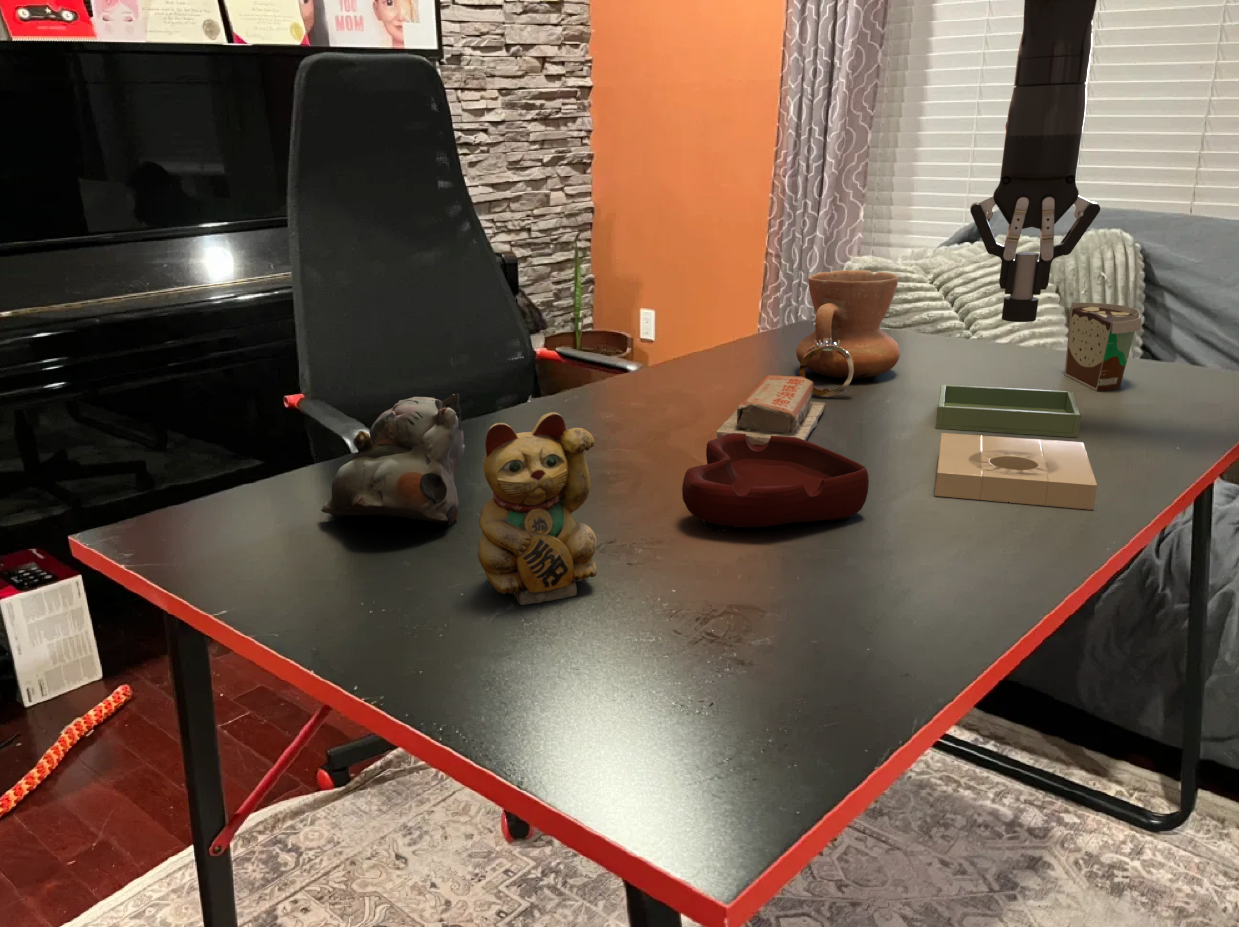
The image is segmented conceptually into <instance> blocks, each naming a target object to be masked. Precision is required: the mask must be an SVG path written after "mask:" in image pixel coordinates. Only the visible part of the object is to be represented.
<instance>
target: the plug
mask: <svg viewBox="0 0 1239 927" xmlns="http://www.w3.org/2000/svg"><path fill="white" fill-rule="evenodd" d="M1039 255H1040V253H1038V252H1032V251H1025V252H1024V251H1021V252H1016V253H1015V257H1014V259H1015V261H1016V264H1015V271H1014V279H1013V287H1012V294H1009V296H1005V297H1004V298H1003V305H1002V311H1001V312H1002V313H1001V320H1003V321H1005V322H1012V323H1032V322H1035V321H1036V320H1037V313H1038V308H1039V300H1040V299H1039V298H1038V297H1036V296H1034V295H1033V292H1034V285H1035V277H1036V270H1037V262H1038V259H1039Z"/></svg>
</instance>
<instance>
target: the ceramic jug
mask: <svg viewBox="0 0 1239 927" xmlns="http://www.w3.org/2000/svg"><path fill="white" fill-rule="evenodd" d="M807 280H808V290H809V295H810V299H811V302H812V305H813V309H814V311H815V320H814V321H815V322H814V324H815V326H814V331H813V332H812V333H810V334H809V335H807V336H805V338H804V339H802V340H801V341H800V342H799V343H798V345H797V348H796V351H795V352H796V353H795V355H796V358H797V361H798V362H799V365H800V364H801V361H802V359H803V357H804V355H805V354H806V352H807V351H808V350H809V349H810V348H811V347H812V346H814V345H815V343H814V341H815V340H817V344H818V343H819V340H821V342H823V338H829V337H831V338H832V339H831V340H832V342H836V343H837V340H840V342H839V345H838V346H840V347H842V348H844V349H845V350H846V351H847V352H849V354H850V355H851V356H852V358H853V361H854V365H855V371H854V376H853V378H852V379H865V378H866V379H867V378H872V377H876V376H880V375H882V374H885V373H887V372H889V371H890V370H891V369H893V368H894V367H895V366H896V365H897V363H898V362H899V359H900V356H901V350H900V349H901V348H900V346H899V344H898V343H897V342H896V340H895V339H893V337H891V336H890V335H888V334H887V333H886V332H885V331H884V330H882V329H881V324H882V322H883V321H884V319H885V317H886V315H887V313H888V311H889V309H890V306H891V305H892V302H893V300H894V298H895V294H896V291H897V289H898V288H897V287H898V284H899V275H897V274H895V273H891V272H888V271H876V272H875V273H874V272H872V271H871V270H866V269H862V270H861V269H845V270H844V269H843V270H833V271H823V272H818V273H814V274H812V275H810V276H808V278H807ZM805 369H807V370H809V371H811V372H813V373H816V374H818V375H821V376H825V377H830V378H837V379H847V377H848V373H849V367H848V363H847V361H846V359H845V358H844V357H843V356H842V355H841V354H839V353H838V352H836V351H835V350H832V351H823V350H822V352H821V353H819V354H817V355H815V356H813V357H812V358H811V359H810V360H809V361H808V362H807V364H806V368H805Z"/></svg>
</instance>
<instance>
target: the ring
mask: <svg viewBox="0 0 1239 927" xmlns="http://www.w3.org/2000/svg"><path fill="white" fill-rule="evenodd" d="M831 339H832V338H831V337H829V338H823V342H821V340H819V343H818V344H817V340H815V341H814V343H815V345H814V346H812V347H811V348H810V349H809V350H808V351H807V352H806V354H805V355H804V357H803V359H802V361H801V364H800V363H799V371H798V372H799V376H801V377H804V378H806V379H808V377H807V374H806V369H807V368H806V364H807V362H808V361H809V360H810V359H811V358H812V357H813V356H815V355H817V354H819V353H821V352H822V350H823V351H832V350H835V351H836V352H838V353H839V354H841V355H842V356H843V357H844V358H845V359H846V361H847V363H848V367H849V373H848V377H847V378H846V379H845V381H844V383H843V384H842V385H841V386H839V387H838V388H835V389H832V390H830V389H829V388H823V389H819V388H817V387H815V386H814V385H813V392H812V394H814V395H816V396H819V397H821V398H822V397H823V396H825V397H827V398H828V397H834V396H837V395H839V394H841V393H842V392H844V391H845V390H846V389H847V388H848V387H849V386H850V384H851V383H852V381H853V379H854V378H853V376H854V371H855V365H854V361H853V358H852V356H851V355H850V354H849V352H847V351H846V350H845V349H844V348H842V347H840V346H838V345H839V342H840V340H837V343H836V342H832V340H831Z"/></svg>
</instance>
